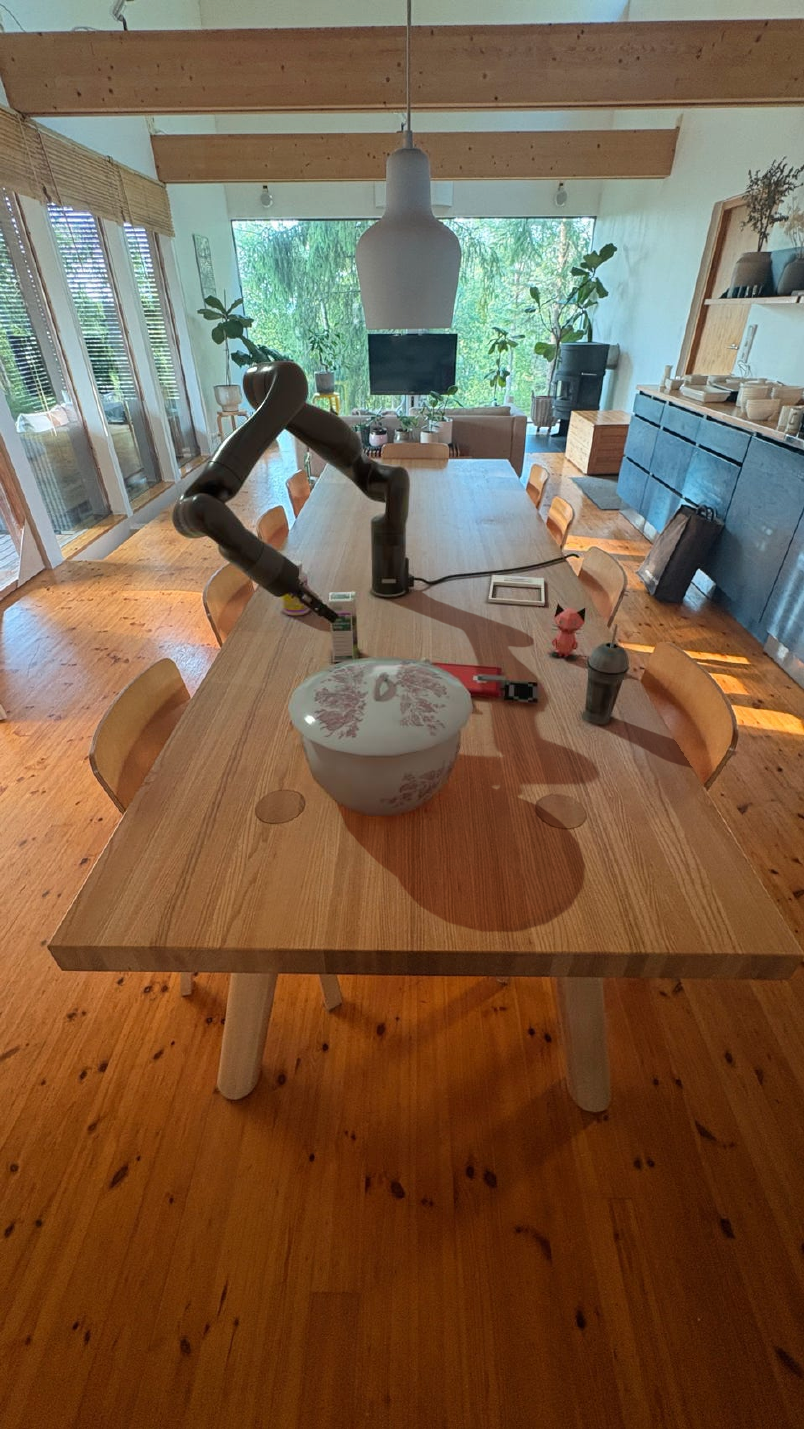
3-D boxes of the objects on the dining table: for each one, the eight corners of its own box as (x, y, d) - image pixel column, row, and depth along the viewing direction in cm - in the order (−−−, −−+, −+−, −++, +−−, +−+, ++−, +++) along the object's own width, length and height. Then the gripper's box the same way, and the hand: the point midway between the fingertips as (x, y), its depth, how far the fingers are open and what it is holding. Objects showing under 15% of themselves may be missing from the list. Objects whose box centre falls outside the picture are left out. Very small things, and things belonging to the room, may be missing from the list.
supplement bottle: (304, 617, 157) (300, 568, 150) (280, 615, 158) (274, 566, 151) (313, 607, 163) (309, 559, 156) (289, 605, 164) (284, 557, 157)
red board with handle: (537, 712, 120) (536, 675, 132) (538, 699, 118) (538, 663, 131) (384, 699, 124) (398, 665, 137) (384, 687, 123) (398, 654, 135)
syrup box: (332, 663, 137) (328, 601, 129) (332, 650, 142) (328, 590, 134) (358, 662, 138) (355, 600, 130) (357, 649, 142) (355, 590, 135)
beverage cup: (617, 711, 121) (639, 616, 110) (615, 731, 115) (638, 633, 104) (579, 705, 123) (596, 611, 112) (575, 724, 117) (593, 627, 106)
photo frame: (543, 577, 178) (544, 602, 163) (543, 581, 178) (544, 606, 163) (492, 574, 180) (488, 598, 165) (492, 577, 180) (488, 602, 165)
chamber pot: (328, 868, 87) (317, 749, 75) (279, 759, 108) (265, 652, 96) (501, 814, 96) (514, 700, 85) (425, 723, 117) (428, 622, 106)
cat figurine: (545, 658, 139) (552, 608, 132) (550, 645, 144) (557, 597, 138) (577, 664, 137) (586, 613, 130) (581, 650, 142) (590, 601, 136)
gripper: (294, 564, 116) (352, 609, 127) (268, 543, 126) (324, 587, 137) (270, 596, 116) (330, 638, 127) (246, 573, 127) (304, 614, 138)
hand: (327, 611), depth 132 cm, fingers open, 8 cm apart
